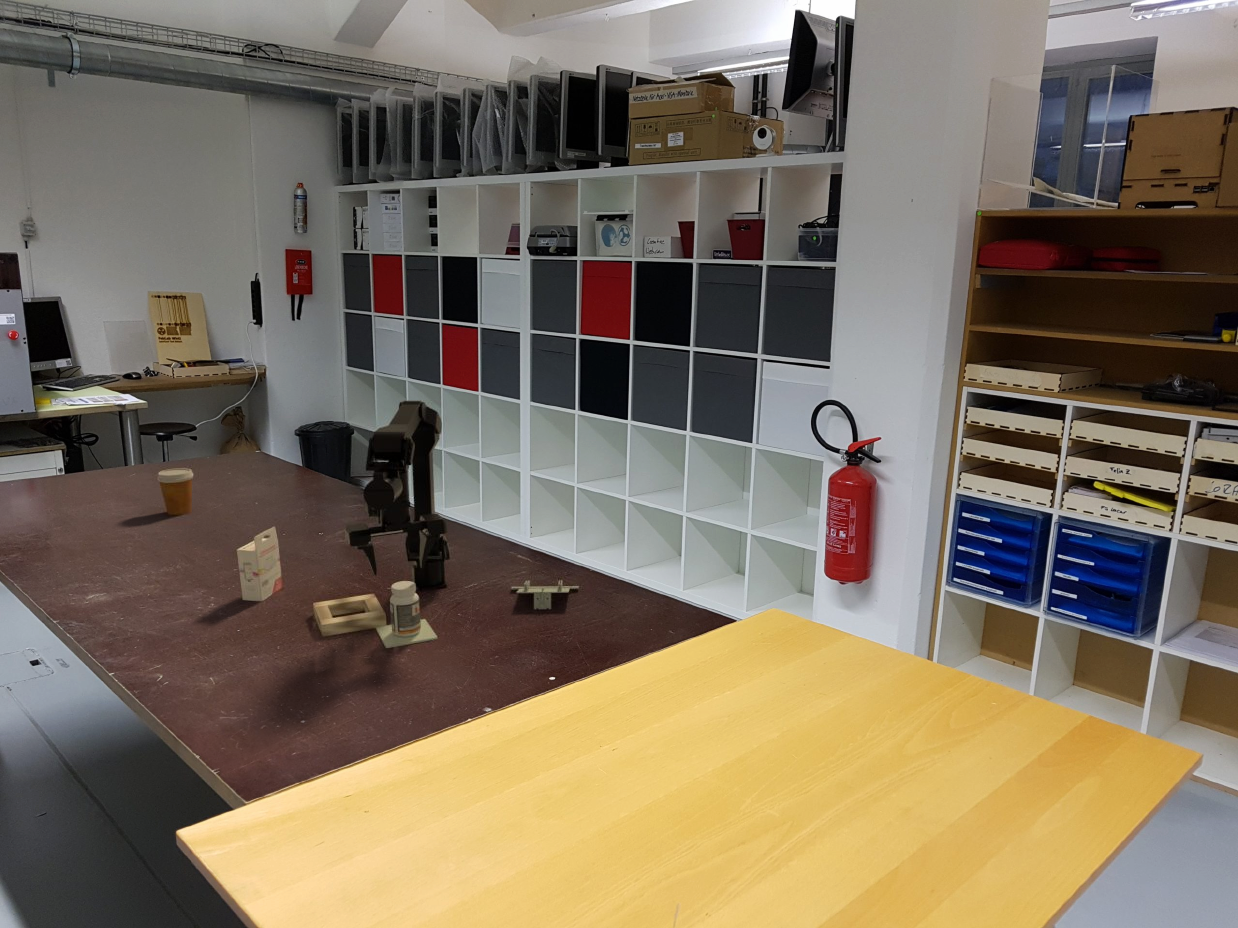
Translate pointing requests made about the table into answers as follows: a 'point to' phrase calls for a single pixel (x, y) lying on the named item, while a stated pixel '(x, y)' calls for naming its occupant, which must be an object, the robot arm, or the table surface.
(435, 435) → the robot arm
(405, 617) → the pill bottle
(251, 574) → the ink cartridge box
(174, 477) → the disposable coffee cup
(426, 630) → the mat
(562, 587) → the metal bracket
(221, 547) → the table surface
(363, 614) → the pocket holder
